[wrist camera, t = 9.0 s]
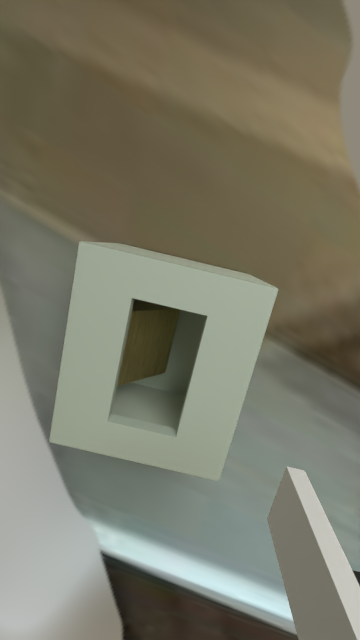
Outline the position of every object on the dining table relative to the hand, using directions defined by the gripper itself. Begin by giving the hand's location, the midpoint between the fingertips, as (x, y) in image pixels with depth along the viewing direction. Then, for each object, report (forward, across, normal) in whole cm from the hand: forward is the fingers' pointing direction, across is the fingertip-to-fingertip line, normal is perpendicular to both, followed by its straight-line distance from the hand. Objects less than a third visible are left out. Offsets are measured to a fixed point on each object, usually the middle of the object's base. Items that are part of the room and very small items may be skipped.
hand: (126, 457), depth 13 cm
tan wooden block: (+20, 0, -1) cm, 21 cm away
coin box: (+22, 0, -1) cm, 22 cm away
